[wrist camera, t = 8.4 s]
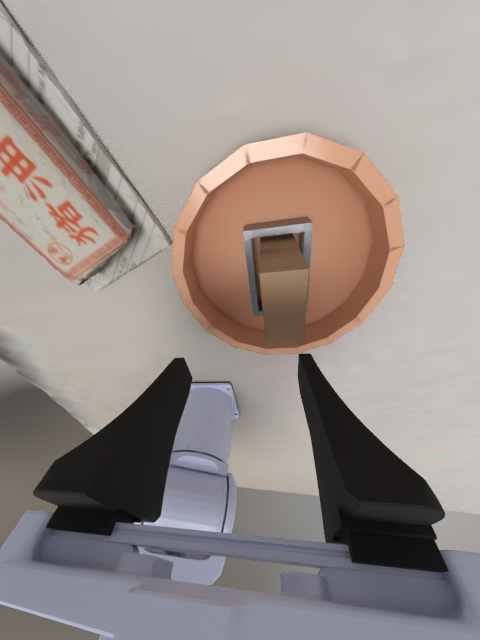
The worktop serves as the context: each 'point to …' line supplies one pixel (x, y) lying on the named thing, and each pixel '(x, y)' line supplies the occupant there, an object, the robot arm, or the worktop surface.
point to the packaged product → (64, 176)
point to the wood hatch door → (283, 289)
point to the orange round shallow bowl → (286, 203)
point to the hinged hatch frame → (270, 229)
